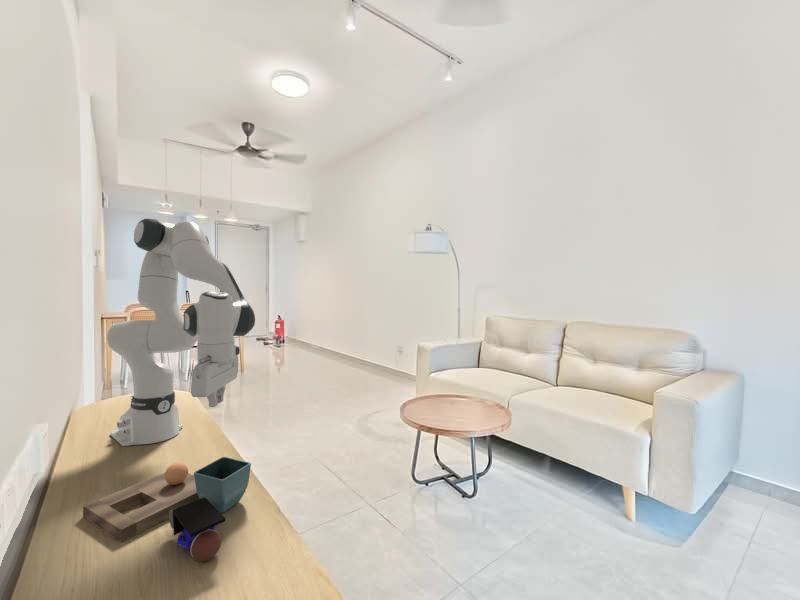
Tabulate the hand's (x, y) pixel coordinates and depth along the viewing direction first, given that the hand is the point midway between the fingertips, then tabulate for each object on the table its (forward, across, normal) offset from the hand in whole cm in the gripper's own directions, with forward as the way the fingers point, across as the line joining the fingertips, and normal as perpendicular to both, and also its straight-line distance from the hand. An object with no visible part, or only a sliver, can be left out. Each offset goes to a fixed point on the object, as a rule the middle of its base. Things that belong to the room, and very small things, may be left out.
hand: (216, 404), depth 99 cm
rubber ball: (+14, -9, +6) cm, 18 cm away
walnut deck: (+19, -14, +8) cm, 25 cm away
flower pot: (+19, -14, -8) cm, 25 cm away
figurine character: (+19, -27, -8) cm, 34 cm away
